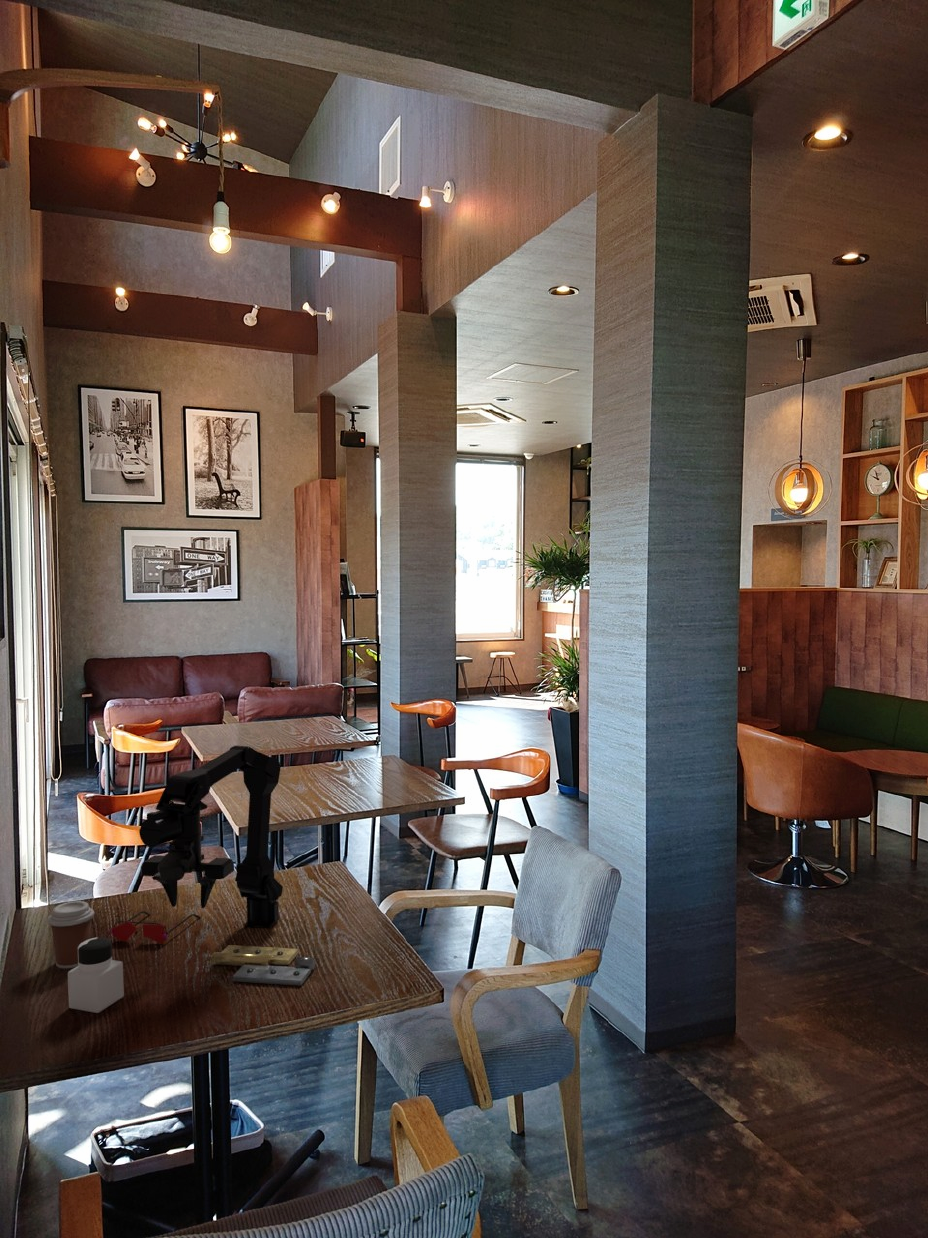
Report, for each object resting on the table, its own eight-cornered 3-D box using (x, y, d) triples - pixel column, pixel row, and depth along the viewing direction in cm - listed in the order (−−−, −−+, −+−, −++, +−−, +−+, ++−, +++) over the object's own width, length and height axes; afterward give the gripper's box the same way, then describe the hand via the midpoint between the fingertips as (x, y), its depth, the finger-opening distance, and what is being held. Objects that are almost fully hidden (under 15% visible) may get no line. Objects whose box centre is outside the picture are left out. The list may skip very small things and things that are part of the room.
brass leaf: (211, 966, 181) (211, 955, 181) (229, 949, 189) (228, 938, 189) (283, 970, 178) (283, 959, 178) (298, 953, 186) (298, 942, 186)
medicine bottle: (124, 996, 168) (122, 936, 168) (98, 1014, 161) (96, 951, 161) (95, 991, 171) (93, 932, 170) (68, 1008, 164) (65, 946, 163)
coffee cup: (86, 949, 191) (84, 896, 190) (102, 961, 184) (100, 906, 184) (42, 962, 185) (40, 907, 184) (58, 975, 178) (56, 918, 178)
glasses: (109, 943, 195) (108, 922, 195) (149, 916, 211) (148, 896, 211) (165, 947, 192) (165, 925, 192) (201, 919, 208) (201, 899, 208)
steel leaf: (232, 981, 174) (232, 969, 174) (249, 963, 182) (249, 952, 182) (300, 985, 171) (300, 974, 171) (315, 967, 180) (315, 956, 179)
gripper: (124, 844, 176) (127, 919, 176) (210, 847, 173) (212, 924, 173) (153, 829, 187) (155, 899, 187) (234, 831, 184) (236, 903, 184)
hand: (188, 907), depth 183 cm, fingers open, 6 cm apart
